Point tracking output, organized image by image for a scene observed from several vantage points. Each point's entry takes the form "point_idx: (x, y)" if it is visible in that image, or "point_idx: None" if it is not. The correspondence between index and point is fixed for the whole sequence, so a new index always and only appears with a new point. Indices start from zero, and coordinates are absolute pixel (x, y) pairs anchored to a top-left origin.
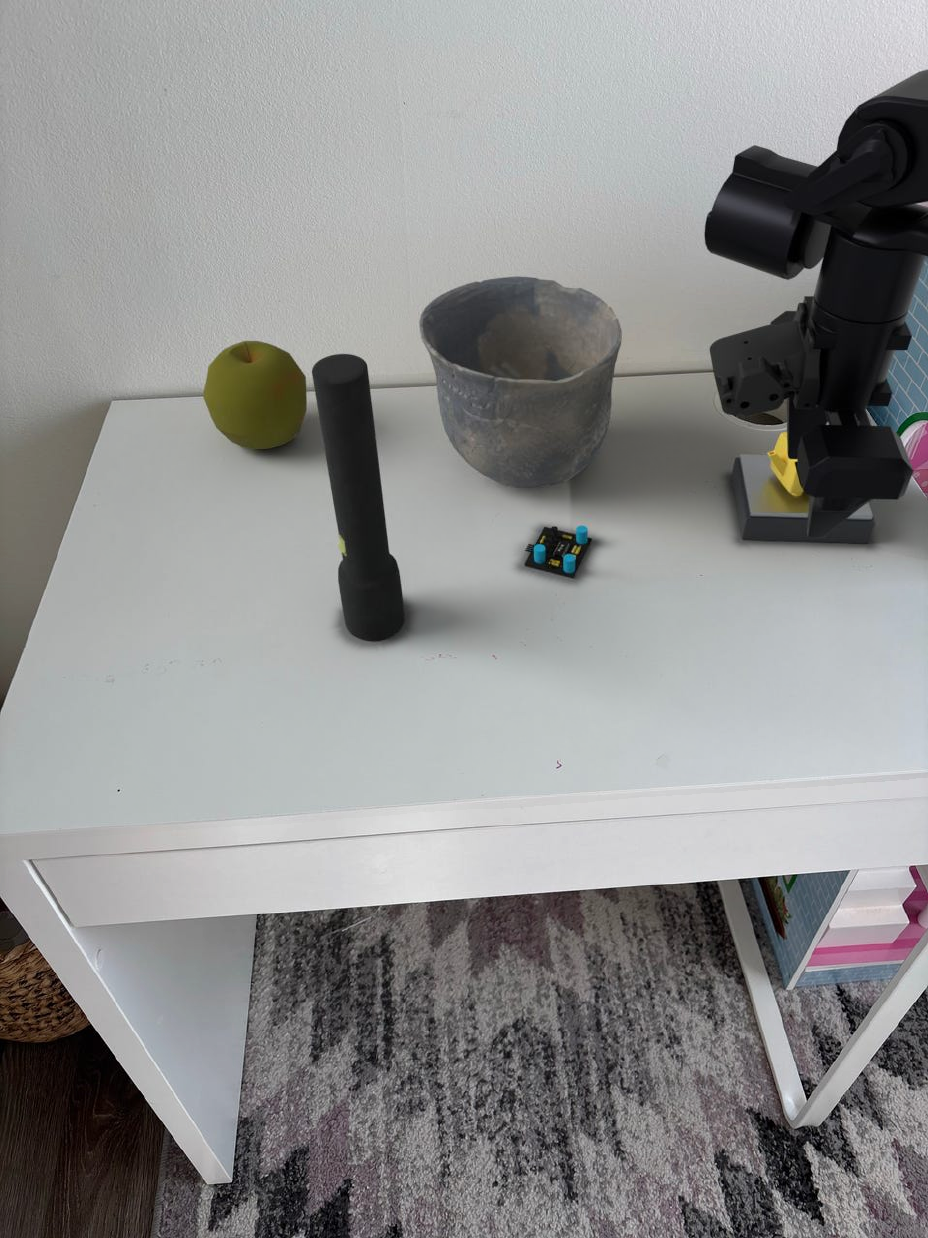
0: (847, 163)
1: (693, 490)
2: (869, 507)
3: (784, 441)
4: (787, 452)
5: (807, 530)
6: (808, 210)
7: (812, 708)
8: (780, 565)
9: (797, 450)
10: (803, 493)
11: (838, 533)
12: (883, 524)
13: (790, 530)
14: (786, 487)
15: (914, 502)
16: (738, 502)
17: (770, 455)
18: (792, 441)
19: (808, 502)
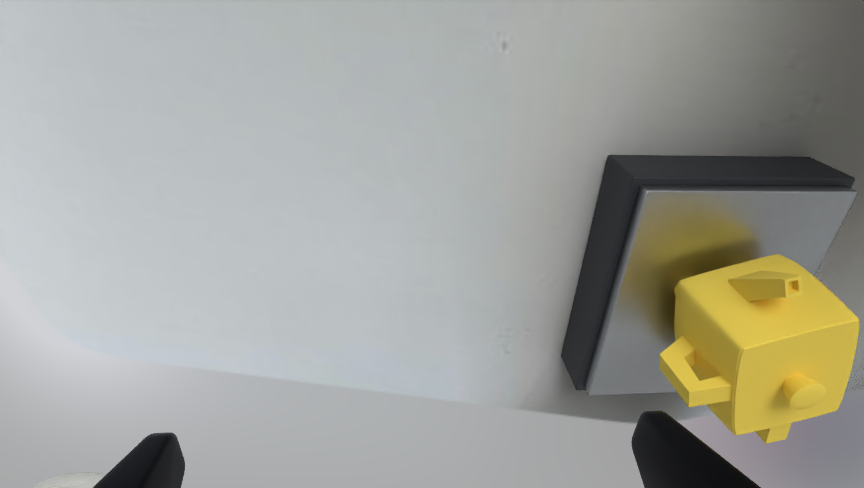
0: None
1: (799, 64)
2: (610, 393)
3: (823, 321)
4: (670, 418)
5: (147, 451)
6: None
7: (137, 222)
8: (521, 218)
9: (654, 462)
10: None
11: (577, 327)
12: None
13: (598, 254)
14: (696, 277)
15: None
16: (714, 163)
17: (785, 281)
18: (688, 484)
19: (649, 305)
